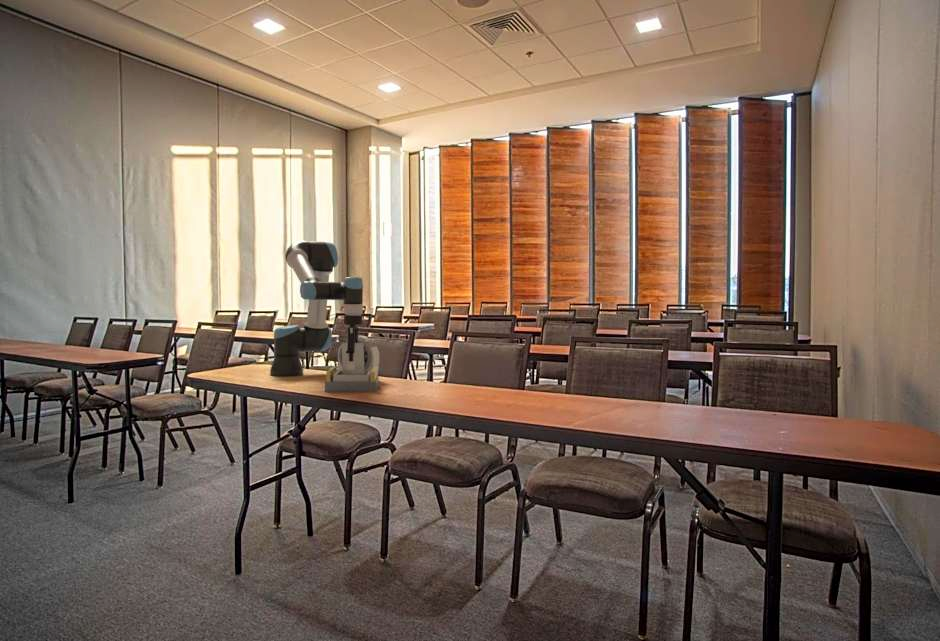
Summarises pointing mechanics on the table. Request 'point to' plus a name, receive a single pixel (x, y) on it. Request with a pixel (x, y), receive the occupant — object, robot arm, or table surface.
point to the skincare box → (358, 360)
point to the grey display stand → (351, 381)
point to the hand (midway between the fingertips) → (352, 367)
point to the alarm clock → (369, 354)
